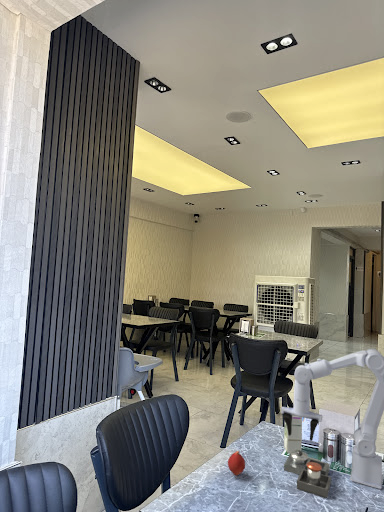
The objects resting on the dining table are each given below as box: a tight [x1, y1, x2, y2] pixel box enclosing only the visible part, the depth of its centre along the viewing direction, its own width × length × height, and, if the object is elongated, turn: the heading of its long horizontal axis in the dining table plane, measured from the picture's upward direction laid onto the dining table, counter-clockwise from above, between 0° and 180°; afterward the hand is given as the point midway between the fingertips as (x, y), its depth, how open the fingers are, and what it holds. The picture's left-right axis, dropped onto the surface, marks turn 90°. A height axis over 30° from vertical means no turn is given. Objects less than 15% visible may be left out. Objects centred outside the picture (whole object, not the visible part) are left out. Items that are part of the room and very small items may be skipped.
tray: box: [296, 469, 332, 499], centre depth 117 cm, size 9×9×2 cm
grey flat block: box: [283, 450, 331, 476], centre depth 128 cm, size 14×10×5 cm
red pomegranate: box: [227, 450, 246, 476], centre depth 121 cm, size 6×6×8 cm
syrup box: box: [283, 415, 303, 454], centre depth 143 cm, size 6×6×14 cm
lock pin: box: [307, 462, 322, 487], centre depth 118 cm, size 5×5×6 cm
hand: (300, 437), depth 131 cm, fingers open, 7 cm apart
